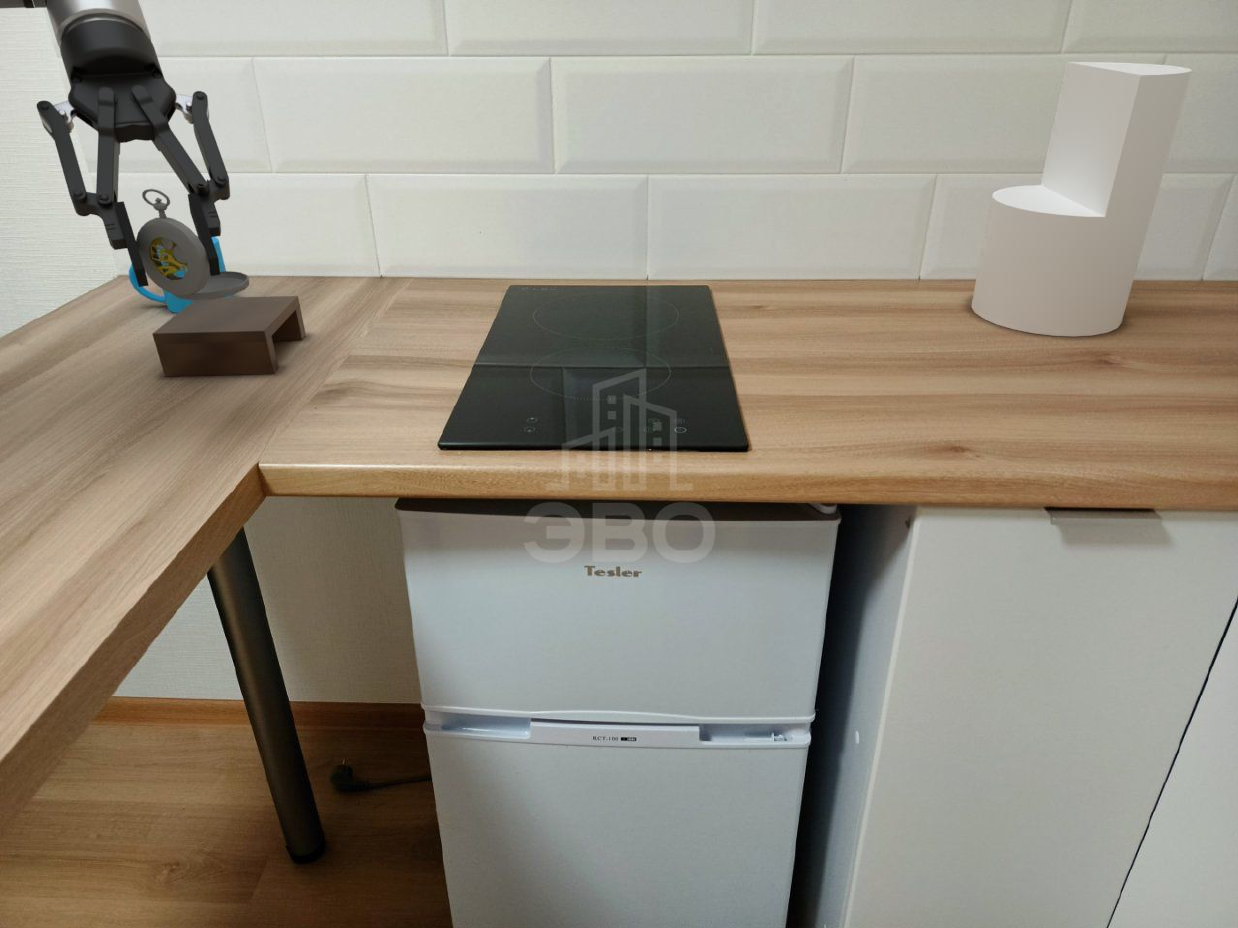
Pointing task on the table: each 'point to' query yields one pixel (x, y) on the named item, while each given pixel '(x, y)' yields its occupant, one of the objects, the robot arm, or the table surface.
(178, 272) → the mug
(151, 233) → the pocket watch
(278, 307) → the stand
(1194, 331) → the table surface
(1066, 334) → the white stepped block
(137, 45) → the robot arm
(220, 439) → the table surface
